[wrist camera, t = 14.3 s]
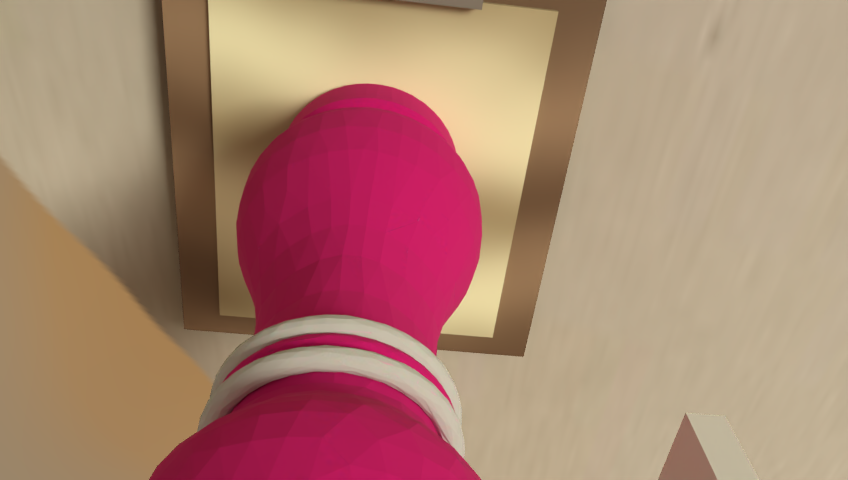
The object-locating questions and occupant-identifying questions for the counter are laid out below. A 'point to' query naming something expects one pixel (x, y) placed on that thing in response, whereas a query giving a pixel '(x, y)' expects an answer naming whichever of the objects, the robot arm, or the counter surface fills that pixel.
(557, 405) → the counter surface
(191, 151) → the clipboard
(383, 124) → the pepper mill
